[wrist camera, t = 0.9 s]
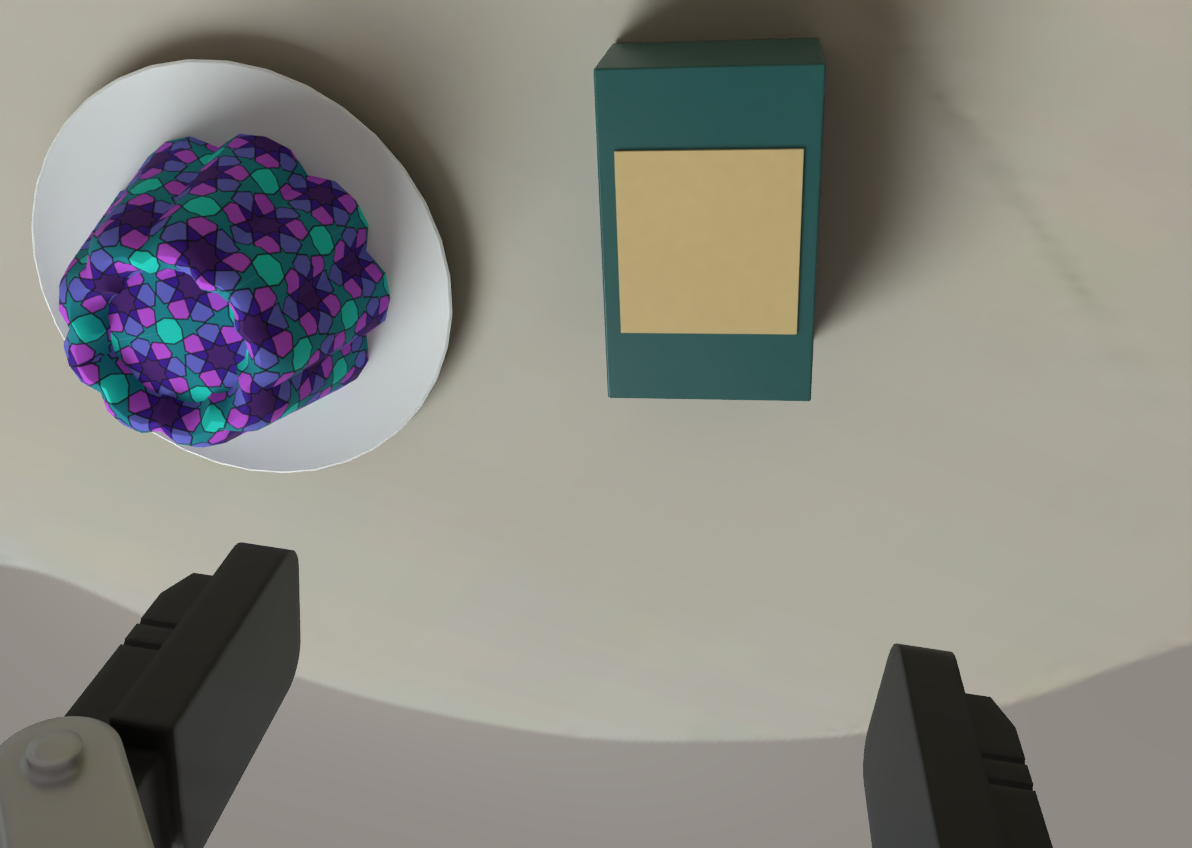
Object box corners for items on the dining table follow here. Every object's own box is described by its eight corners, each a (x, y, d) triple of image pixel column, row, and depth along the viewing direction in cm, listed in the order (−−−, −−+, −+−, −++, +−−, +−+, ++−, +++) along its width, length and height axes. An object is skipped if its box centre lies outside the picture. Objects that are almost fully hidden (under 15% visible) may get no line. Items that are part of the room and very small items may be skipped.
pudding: (-29, 112, 31) (-168, 161, 26) (375, 2, 28) (298, 34, 24) (153, 488, 36) (63, 584, 31) (511, 425, 33) (470, 520, 29)
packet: (819, 37, 27) (826, 64, 24) (806, 345, 31) (811, 403, 28) (612, 43, 28) (592, 69, 25) (623, 343, 32) (607, 399, 28)
